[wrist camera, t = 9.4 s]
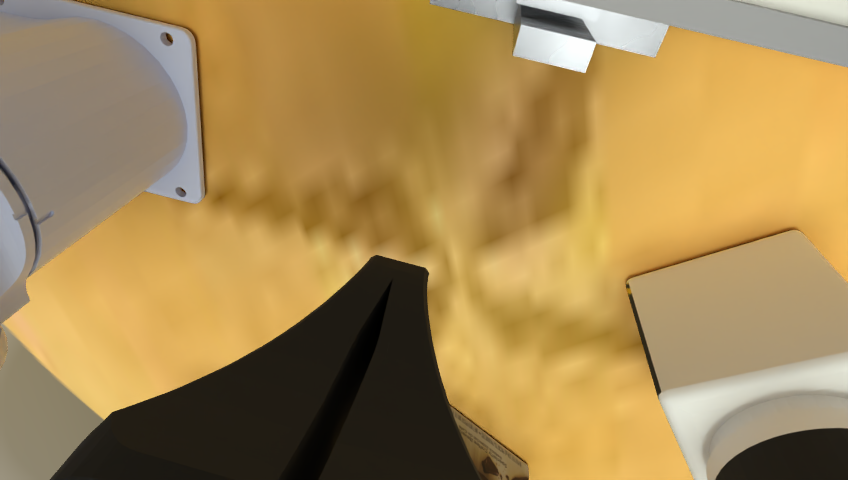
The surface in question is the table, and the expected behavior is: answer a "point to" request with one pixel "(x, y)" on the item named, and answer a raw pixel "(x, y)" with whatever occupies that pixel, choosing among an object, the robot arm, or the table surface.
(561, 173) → the table surface
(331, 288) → the table surface
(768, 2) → the beam
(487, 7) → the pivot stand
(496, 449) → the coffee box
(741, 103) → the table surface
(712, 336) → the medicine bottle
